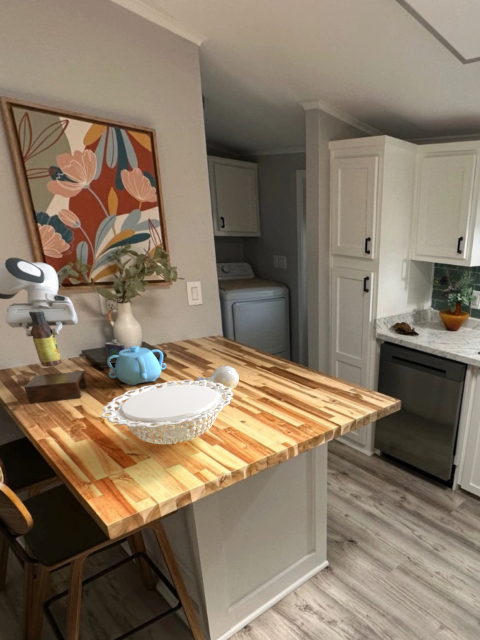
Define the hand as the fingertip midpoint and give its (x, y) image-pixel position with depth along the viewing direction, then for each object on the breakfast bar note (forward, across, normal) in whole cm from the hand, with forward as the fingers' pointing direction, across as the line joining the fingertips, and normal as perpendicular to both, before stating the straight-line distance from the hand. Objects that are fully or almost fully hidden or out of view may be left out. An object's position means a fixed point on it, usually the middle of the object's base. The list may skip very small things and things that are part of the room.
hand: (42, 334), depth 146 cm
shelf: (+23, +4, +3) cm, 24 cm away
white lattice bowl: (+59, +42, -33) cm, 80 cm away
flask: (0, +18, +26) cm, 31 cm away
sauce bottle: (+8, 0, +9) cm, 12 cm away
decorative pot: (+18, +28, +8) cm, 34 cm away
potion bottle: (+34, +55, -9) cm, 66 cm away
